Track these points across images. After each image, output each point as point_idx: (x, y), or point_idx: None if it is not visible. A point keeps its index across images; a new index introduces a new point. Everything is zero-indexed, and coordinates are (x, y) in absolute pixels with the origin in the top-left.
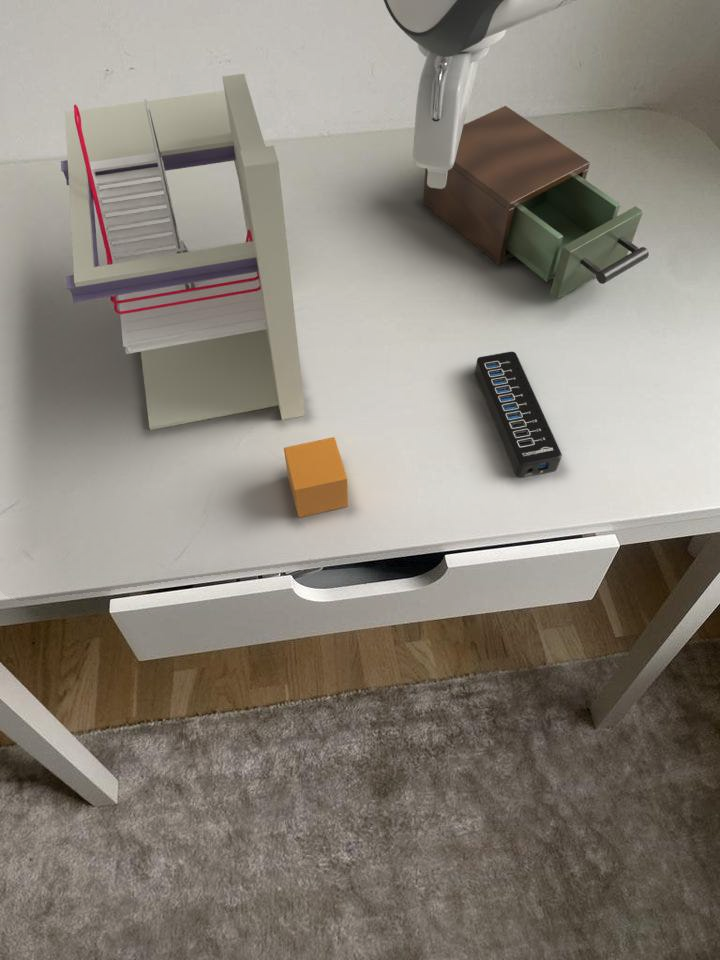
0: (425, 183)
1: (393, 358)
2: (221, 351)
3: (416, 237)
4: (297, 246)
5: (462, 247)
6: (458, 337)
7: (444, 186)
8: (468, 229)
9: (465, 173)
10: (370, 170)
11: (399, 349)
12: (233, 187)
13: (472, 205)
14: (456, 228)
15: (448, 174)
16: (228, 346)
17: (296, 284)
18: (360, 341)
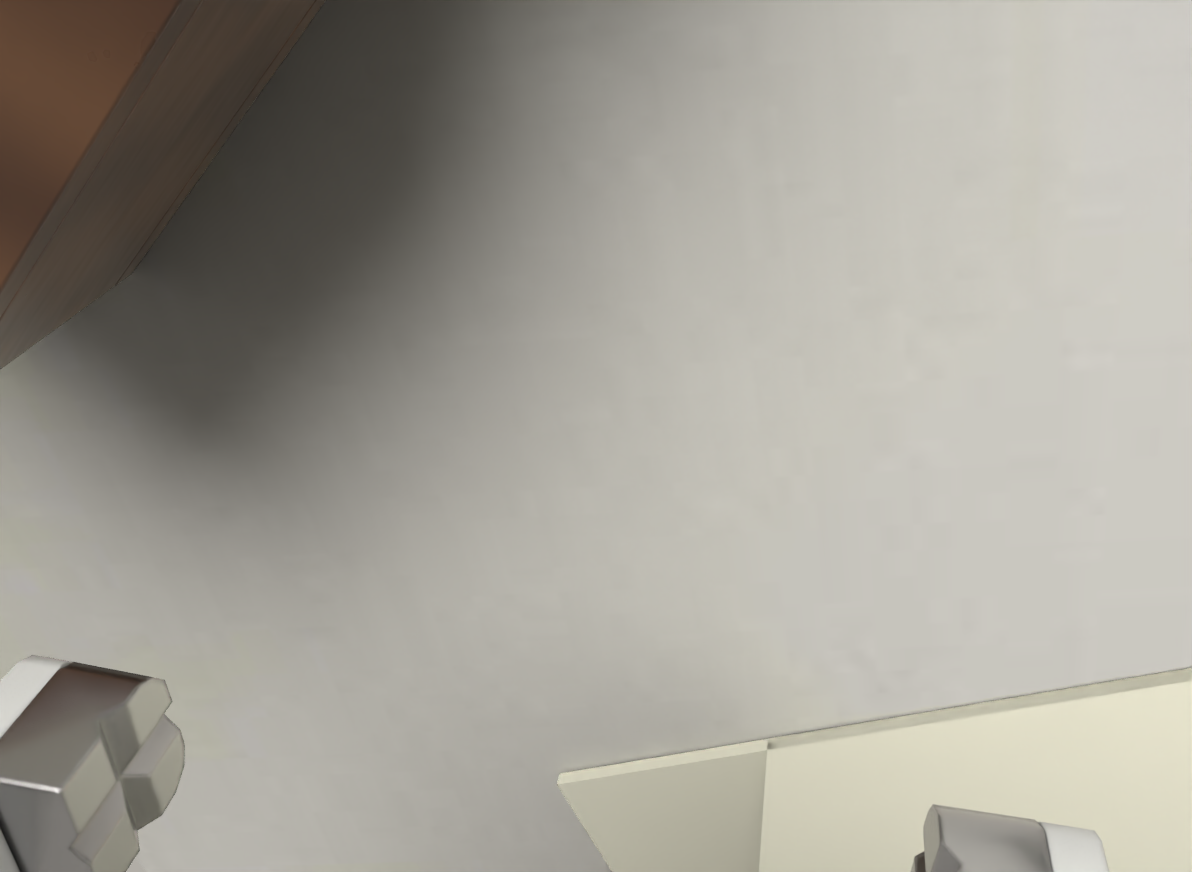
0: (71, 314)
1: (1158, 327)
2: None
3: (356, 283)
4: (530, 681)
5: (358, 63)
6: (1022, 29)
7: (1097, 840)
8: (267, 59)
9: (58, 211)
10: (35, 481)
11: (1099, 306)
12: (306, 844)
13: (194, 96)
14: (246, 109)
15: (52, 271)
16: None
17: (728, 676)
18: (1041, 460)
